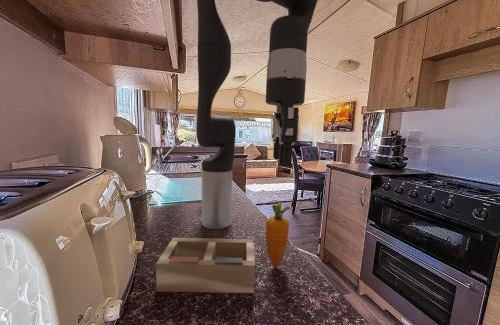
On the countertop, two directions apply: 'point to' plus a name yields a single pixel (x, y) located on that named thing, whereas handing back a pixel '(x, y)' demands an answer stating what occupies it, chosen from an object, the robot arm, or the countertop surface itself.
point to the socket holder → (207, 266)
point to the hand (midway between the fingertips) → (281, 162)
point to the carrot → (277, 234)
